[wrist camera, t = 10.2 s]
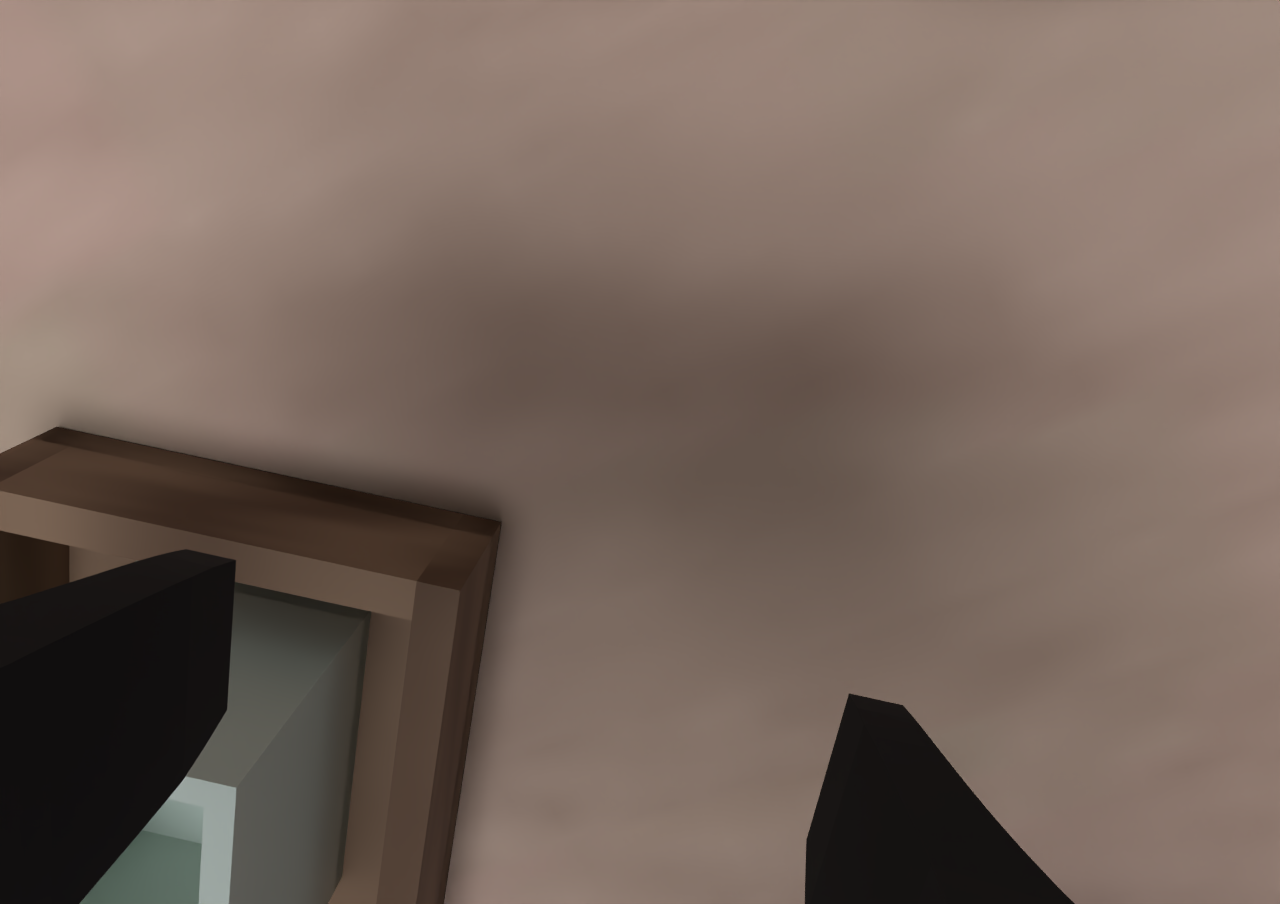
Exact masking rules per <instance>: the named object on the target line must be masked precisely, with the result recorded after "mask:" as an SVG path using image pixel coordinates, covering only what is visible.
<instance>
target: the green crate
mask: <svg viewBox="0 0 1280 904" xmlns="http://www.w3.org/2000/svg"><path fill="white" fill-rule="evenodd" d="M136 561H137V560H136ZM136 561H135V562H136ZM370 618H371V611H366V610H361V609H357V608H352V607H348V606H343V605H339V604H334V603H329V602H325V601H320V600H316V599H311V598H307V597H302V596H297V595H293V594H288V593H284V592H279V591H275V590H270V589H265V588H261V587H256V586H252V585H247V584H243V583H238V582H235V588H234V605H233V621H232V638H231V654H230V671H229V687H228V704H227V711H226V713H225V714H224V716H223V718H222V719H221V721H220V723H219V724H218V726H217V728H216V729H215V731H214V732H213V734H212V736H211V737H210V739H209V741H208V742H207V744H206V746H205V747H204V749H203V750H202V752H201V754H200V755H199V757H198V758H197V760H196V761H195V763H194V764H193V766H192V767H191V769H190V770H189V772H188V773H187V775H186V776H185V778H184V780H183V781H182V782H181V783H180V785H179V786H178V787H177V788H176V790H175V791H174V792H173V793H172V794H171V796H170V797H169V798H168V799H167V801H166V802H165V803H164V804H163V805H162V807H161V808H160V809H159V810H158V811H157V813H156V814H155V815H154V816H153V817H152V819H151V820H150V821H149V822H148V823H147V825H146V826H145V827H144V828H143V829H142V831H141V832H140V833H139V834H138V835H137V837H136V838H135V839H134V840H133V841H132V842H131V844H130V845H129V846H128V847H127V848H126V849H125V851H124V852H123V853H122V854H121V855H120V856H119V858H118V859H117V860H116V861H115V862H114V864H113V865H112V866H111V867H110V868H109V869H108V871H107V872H106V873H105V874H104V875H103V876H102V878H101V879H100V880H99V881H98V882H97V883H96V885H95V886H94V887H93V888H92V889H91V891H90V892H89V893H88V894H87V895H86V896H85V898H84V899H83V900H82V901H81V902H80V903H79V904H328V902H329V900H330V899H331V897H332V895H333V893H334V891H335V889H336V887H337V885H338V884H339V882H340V880H341V878H342V873H343V864H344V855H345V846H346V837H347V828H348V819H349V810H350V801H351V792H352V782H353V773H354V764H355V755H356V746H357V737H358V728H359V719H360V710H361V700H362V691H363V682H364V673H365V664H366V655H367V646H368V637H369V628H370Z"/></svg>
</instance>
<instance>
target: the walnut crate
mask: <svg viewBox="0 0 1280 904" xmlns="http://www.w3.org/2000/svg"><path fill="white" fill-rule="evenodd" d="M500 529H501V522H498V521H493V520H489V519H484V518H479V517H475V516H470V515H465V514H461V513H456V512H451V511H447V510H442V509H437V508H433V507H428V506H423V505H419V504H414V503H409V502H405V501H400V500H395V499H391V498H386V497H381V496H377V495H372V494H367V493H363V492H358V491H353V490H349V489H344V488H339V487H335V486H330V485H325V484H321V483H316V482H311V481H307V480H302V479H297V478H293V477H288V476H283V475H279V474H274V473H269V472H265V471H260V470H255V469H251V468H246V467H241V466H237V465H232V464H227V463H223V462H218V461H213V460H209V459H204V458H199V457H195V456H190V455H185V454H181V453H176V452H171V451H167V450H162V449H157V448H153V447H148V446H143V445H139V444H134V443H129V442H125V441H120V440H115V439H111V438H106V437H101V436H97V435H92V434H87V433H83V432H78V431H73V430H69V429H64V428H59V427H55V428H53V429H51V430H49V431H47V432H45V433H43V434H41V435H38V436H36V437H34V438H32V439H30V440H28V441H26V442H24V443H21V444H19V445H17V446H15V447H13V448H11V449H9V450H7V451H5V452H2V453H0V604H1V603H5V602H8V601H12V600H16V599H19V598H22V597H25V596H29V595H32V594H35V593H38V592H41V591H44V590H47V589H51V588H54V587H57V586H60V585H63V584H66V583H70V582H73V581H76V580H79V579H82V578H85V577H89V576H92V575H95V574H98V573H101V572H104V571H107V570H110V569H114V568H117V567H120V566H123V565H126V564H130V563H133V562H135V561H136V560H137V561H140V560H143V559H146V558H150V557H154V556H157V555H161V554H165V553H169V552H174V551H179V550H184V549H188V550H193V551H197V552H202V553H206V554H211V555H215V556H220V557H225V558H229V559H234V560H236V572H235V582H238V583H243V584H247V585H252V586H256V587H261V588H265V589H270V590H275V591H279V592H284V593H288V594H293V595H297V596H302V597H307V598H311V599H316V600H320V601H325V602H329V603H334V604H339V605H343V606H348V607H352V608H357V609H361V610H366V611H371V618H370V628H369V637H368V646H367V655H366V664H365V673H364V682H363V691H362V700H361V710H360V719H359V728H358V737H357V746H356V755H355V764H354V773H353V782H352V792H351V801H350V810H349V819H348V828H347V837H346V846H345V855H344V864H343V873H342V878H341V880H340V882H339V884H338V885H337V887H336V889H335V891H334V893H333V895H332V897H331V899H330V900H329V902H328V904H443V903H444V897H445V890H446V884H447V877H448V870H449V864H450V857H451V851H452V844H453V838H454V831H455V824H456V818H457V811H458V805H459V798H460V792H461V785H462V778H463V772H464V765H465V759H466V752H467V746H468V739H469V732H470V726H471V719H472V713H473V706H474V700H475V693H476V686H477V680H478V673H479V667H480V660H481V654H482V647H483V640H484V634H485V627H486V621H487V614H488V608H489V601H490V594H491V588H492V581H493V575H494V568H495V561H496V555H497V548H498V542H499V535H500Z"/></svg>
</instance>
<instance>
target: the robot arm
mask: <svg viewBox="0 0 1280 904" xmlns="http://www.w3.org/2000/svg"><path fill="white" fill-rule="evenodd" d="M235 572H236V560H234V559H229V558H225V557H220V556H215V555H211V554H206V553H202V552H197V551H193V550H188V549H184V550H179V551H174V552H169V553H165V554H161V555H157V556H154V557H150V558H146V559H143V560H140V561H136V562H133V563H130V564H126V565H123V566H120V567H117V568H114V569H110V570H107V571H104V572H101V573H98V574H95V575H92V576H89V577H85V578H82V579H79V580H76V581H73V582H70V583H66V584H63V585H60V586H57V587H54V588H51V589H47V590H44V591H41V592H38V593H35V594H32V595H29V596H25V597H22V598H19V599H16V600H12V601H8V602H5V603H1V604H0V904H79V903H80V902H81V901H82V900H83V899H84V898H85V896H86V895H87V894H88V893H89V892H90V891H91V889H92V888H93V887H94V886H95V885H96V883H97V882H98V881H99V880H100V879H101V878H102V876H103V875H104V874H105V873H106V872H107V871H108V869H109V868H110V867H111V866H112V865H113V864H114V862H115V861H116V860H117V859H118V858H119V856H120V855H121V854H122V853H123V852H124V851H125V849H126V848H127V847H128V846H129V845H130V844H131V842H132V841H133V840H134V839H135V838H136V837H137V835H138V834H139V833H140V832H141V831H142V829H143V828H144V827H145V826H146V825H147V823H148V822H149V821H150V820H151V819H152V817H153V816H154V815H155V814H156V813H157V811H158V810H159V809H160V808H161V807H162V805H163V804H164V803H165V802H166V801H167V799H168V798H169V797H170V796H171V794H172V793H173V792H174V791H175V790H176V788H177V787H178V786H179V785H180V783H181V782H182V781H183V780H184V778H185V776H186V775H187V773H188V772H189V770H190V769H191V767H192V766H193V764H194V763H195V761H196V760H197V758H198V757H199V755H200V754H201V752H202V750H203V749H204V747H205V746H206V744H207V742H208V741H209V739H210V737H211V736H212V734H213V732H214V731H215V729H216V728H217V726H218V724H219V723H220V721H221V719H222V718H223V716H224V714H225V713H226V711H227V704H228V687H229V671H230V654H231V638H232V621H233V605H234V588H235ZM805 904H1074V903H1073V902H1072V901H1071V900H1070V899H1069V898H1068V897H1067V896H1066V895H1065V894H1064V893H1063V892H1062V891H1061V890H1060V889H1059V888H1058V887H1057V886H1056V885H1055V884H1054V883H1053V882H1052V880H1051V879H1050V878H1049V877H1048V876H1047V875H1046V874H1045V873H1044V872H1043V871H1042V870H1041V869H1040V868H1039V867H1038V866H1037V865H1036V863H1035V862H1034V861H1033V860H1032V859H1031V858H1030V857H1029V856H1028V855H1027V854H1026V853H1025V852H1024V851H1023V850H1022V849H1021V848H1020V846H1019V845H1018V844H1017V843H1016V842H1015V841H1014V840H1013V839H1012V837H1011V836H1010V835H1009V834H1008V833H1007V832H1006V831H1005V829H1004V828H1003V827H1002V826H1001V825H1000V824H999V823H998V821H997V820H996V819H995V818H994V817H993V816H992V814H991V813H990V812H989V811H988V810H987V809H986V807H985V806H984V805H983V804H982V803H981V801H980V800H979V799H978V798H977V797H976V795H975V794H974V793H973V792H972V790H971V789H970V788H969V787H968V786H967V784H966V783H965V782H964V781H963V779H962V778H961V777H960V776H959V774H958V773H957V772H956V771H955V769H954V768H953V767H952V766H951V764H950V763H949V762H948V761H947V759H946V758H945V757H944V755H943V754H942V753H941V752H940V750H939V749H938V748H937V747H936V745H935V744H934V743H933V741H932V740H931V739H930V738H929V736H928V735H927V734H926V733H925V731H924V730H923V729H922V728H921V726H920V725H919V724H918V723H917V721H916V720H915V719H914V718H913V717H912V715H911V714H910V713H909V712H908V711H907V710H906V708H905V707H904V706H903V705H899V704H895V703H890V702H885V701H881V700H876V699H872V698H867V697H862V696H858V695H853V694H849V696H848V699H847V703H846V706H845V710H844V713H843V716H842V720H841V723H840V727H839V730H838V734H837V737H836V741H835V744H834V747H833V751H832V754H831V758H830V761H829V765H828V768H827V771H826V775H825V778H824V782H823V785H822V789H821V792H820V796H819V799H818V802H817V806H816V809H815V813H814V816H813V820H812V823H811V827H810V830H809V833H808V837H807V844H806V877H805Z"/></svg>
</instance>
